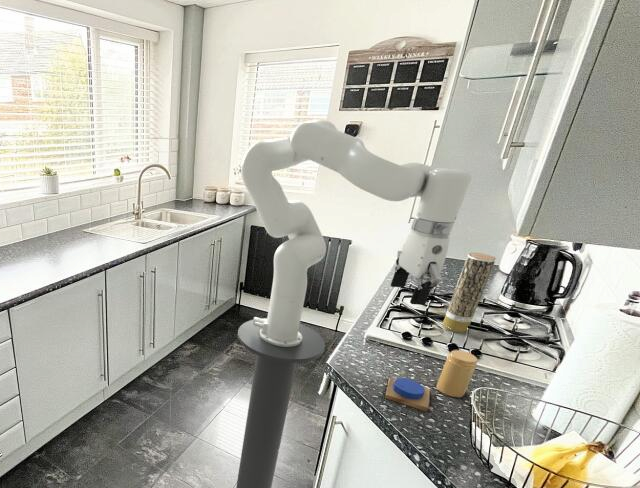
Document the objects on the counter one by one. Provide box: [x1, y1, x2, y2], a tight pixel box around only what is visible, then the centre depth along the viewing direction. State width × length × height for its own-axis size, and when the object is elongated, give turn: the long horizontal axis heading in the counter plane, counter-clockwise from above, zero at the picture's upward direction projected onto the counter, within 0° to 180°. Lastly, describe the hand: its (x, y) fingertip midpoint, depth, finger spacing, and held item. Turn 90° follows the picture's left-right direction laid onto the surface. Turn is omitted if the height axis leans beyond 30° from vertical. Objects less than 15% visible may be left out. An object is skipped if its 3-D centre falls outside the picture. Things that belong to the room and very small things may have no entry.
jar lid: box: [392, 377, 425, 400], centre depth 106 cm, size 7×7×2 cm
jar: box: [435, 349, 479, 398], centre depth 106 cm, size 6×6×10 cm
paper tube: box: [442, 252, 497, 334], centre depth 133 cm, size 7×7×25 cm
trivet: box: [384, 377, 431, 412], centre depth 106 cm, size 9×9×1 cm
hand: (406, 294), depth 102 cm, fingers open, 9 cm apart
